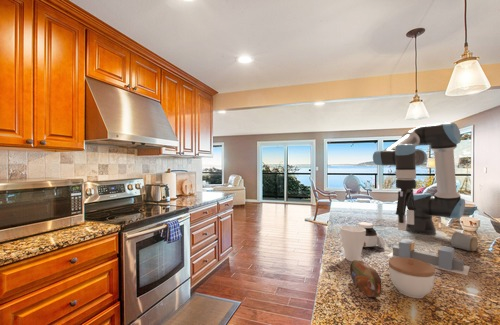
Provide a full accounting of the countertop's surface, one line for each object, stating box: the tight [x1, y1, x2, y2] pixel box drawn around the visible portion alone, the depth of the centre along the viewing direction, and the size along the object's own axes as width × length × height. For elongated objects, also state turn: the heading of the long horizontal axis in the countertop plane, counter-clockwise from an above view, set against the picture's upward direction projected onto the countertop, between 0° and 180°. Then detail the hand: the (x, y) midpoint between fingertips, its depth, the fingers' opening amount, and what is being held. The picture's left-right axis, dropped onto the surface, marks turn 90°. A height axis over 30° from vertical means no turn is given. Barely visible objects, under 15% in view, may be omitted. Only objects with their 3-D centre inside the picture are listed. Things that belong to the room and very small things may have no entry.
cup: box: [339, 225, 366, 262], centre depth 107 cm, size 10×10×14 cm
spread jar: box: [357, 221, 386, 250], centre depth 123 cm, size 12×11×12 cm
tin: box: [349, 260, 383, 298], centre depth 81 cm, size 15×3×8 cm, turn 5°
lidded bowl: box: [388, 257, 436, 299], centre depth 80 cm, size 13×13×11 cm
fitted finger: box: [437, 245, 455, 272], centre depth 98 cm, size 7×4×7 cm, turn 134°
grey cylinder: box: [450, 231, 479, 252], centre depth 120 cm, size 11×8×8 cm
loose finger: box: [398, 238, 416, 258], centre depth 108 cm, size 7×4×7 cm, turn 134°
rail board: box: [386, 245, 471, 276], centre depth 104 cm, size 11×27×4 cm, turn 44°
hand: (406, 227), depth 109 cm, fingers open, 13 cm apart
